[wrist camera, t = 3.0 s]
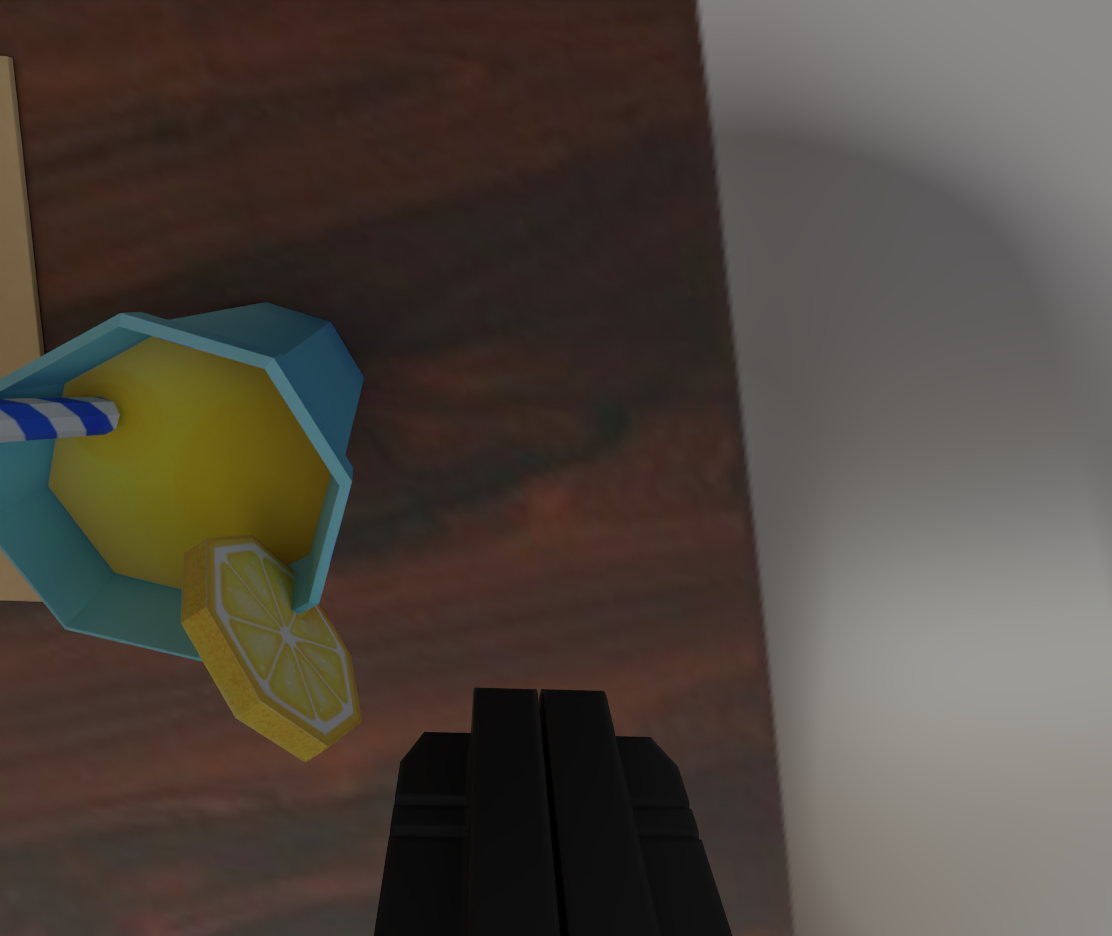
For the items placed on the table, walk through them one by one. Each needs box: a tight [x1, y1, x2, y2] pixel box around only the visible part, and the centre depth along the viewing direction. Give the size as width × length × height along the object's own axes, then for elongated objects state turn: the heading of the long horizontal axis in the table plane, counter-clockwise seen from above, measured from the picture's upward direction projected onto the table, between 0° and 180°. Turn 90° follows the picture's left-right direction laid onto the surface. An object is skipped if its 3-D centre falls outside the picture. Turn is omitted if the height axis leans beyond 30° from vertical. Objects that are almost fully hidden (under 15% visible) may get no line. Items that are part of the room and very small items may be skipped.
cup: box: [0, 302, 364, 762], centre depth 21 cm, size 14×8×15 cm, turn 49°
